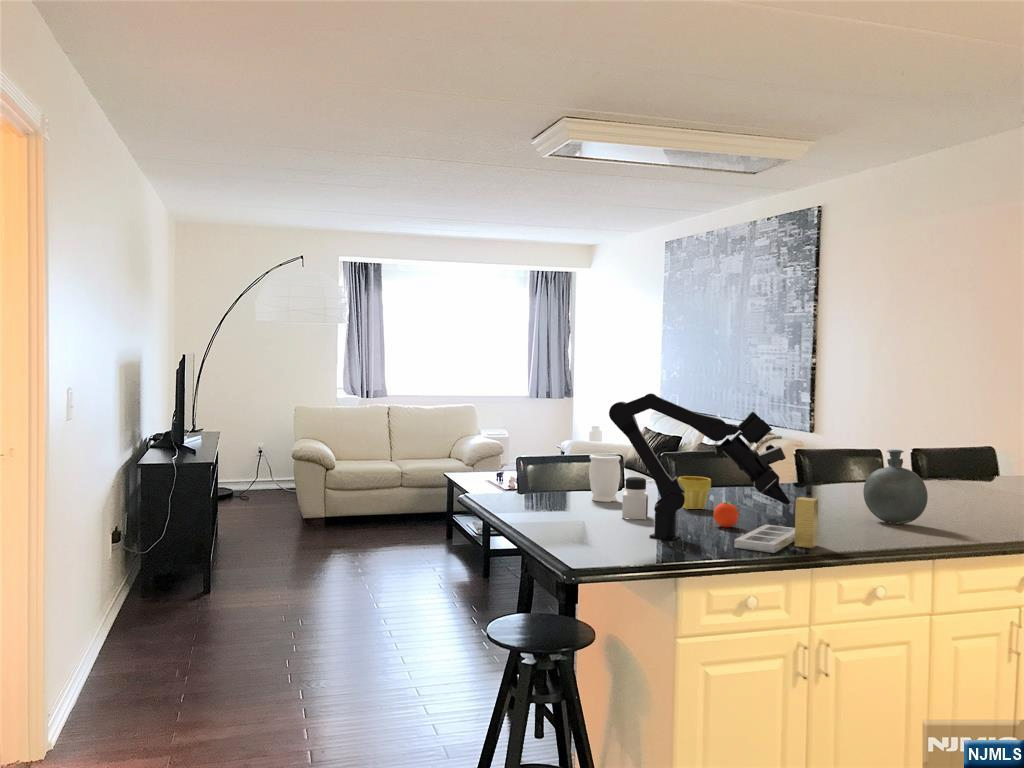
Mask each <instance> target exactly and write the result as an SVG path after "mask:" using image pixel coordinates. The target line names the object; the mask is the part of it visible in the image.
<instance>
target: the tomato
mask: <svg viewBox="0 0 1024 768" xmlns="http://www.w3.org/2000/svg"><path fill="white" fill-rule="evenodd" d="M713 519H714V521H715V523H716V524H717V525H718V526H720V527H722V528H731V527H734V525H736V523H737V522H738V521H739V511H738V508H737V507H736V506H735V505H734V504H733V503H732V502H726V501H725V502H721V503H720V504H718V505H717V506H716V507H714V511H713Z"/></svg>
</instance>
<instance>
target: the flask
mask: <svg viewBox="0 0 1024 768" xmlns="http://www.w3.org/2000/svg"><path fill="white" fill-rule="evenodd" d="M886 453H889V457H890V458H887V464H888V466H886V467H882V468H877V470H875V471H872V472H871V473H870V474H869V476H868V477H867V478H866V480H865V482H864V485H863V499H864V503H865V504H866V507H867V508H868V510H869V511H870V512H871V513H872V514H873V515H874V516H875V517H876V518H877V519H879V520H881V521H883V522H884V521H885V523H887V522H891V523H900V524H899V525H903V524H905V525H906V524H909V523H911V522H913V521H916V520H917V519H918V518H920V517H921V516H922V514H923V513H924V511H925V510H926V507H927V505H928V499H929V498H928V497H929V495H928V489H927V487H926V483H925V482H924V481H923V479H922V477H920V476H919V475H918V474H917V473H916V472H914V471H913V470H911V469H908V468H904V467H903V464H904V459H903V458H901V456H902V454H903V453H905V451H903V450H901V449H888V450H886ZM891 523H890V524H891Z"/></svg>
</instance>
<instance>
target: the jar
mask: <svg viewBox="0 0 1024 768" xmlns="http://www.w3.org/2000/svg"><path fill="white" fill-rule="evenodd" d="M589 459H590V464H589V470H588V476H589V477H588V478H589V484H590V485H589V486H590V490H591V493H592V494H593V495H592V497H591V501H595V502H600V503H612V502H611V501H614V502H616V501H617V500H618V498H617V497H616V495H617V494H618V491H619V485H620V480H621V465H620V460H621V456H620V455H615V454H605V453H604V454H600V453H599V454H590V455H589Z"/></svg>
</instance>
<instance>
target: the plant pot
mask: <svg viewBox="0 0 1024 768" xmlns="http://www.w3.org/2000/svg"><path fill="white" fill-rule="evenodd" d="M677 478H678V480H679V482H680V484H681V485H682V486H683V487H684V488H685V492H684V494H685V502H684V505H683V506H682V508H683V509H684V508H685V509H684V510H688V509H703V510H704V509H705V507H706V503H707V500H708V499H707V498H708V494H709V491H711V488H712V479H711V478H709V477H704V476H694V475H693V476H692V475H691V476H690V475H683V476H678V477H677Z"/></svg>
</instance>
